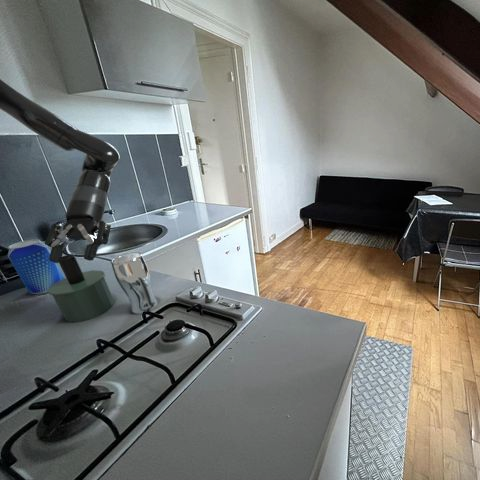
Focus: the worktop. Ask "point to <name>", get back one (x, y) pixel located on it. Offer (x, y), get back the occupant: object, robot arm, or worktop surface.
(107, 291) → the tin
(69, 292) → the tin lid
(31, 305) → the worktop surface
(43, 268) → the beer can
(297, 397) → the worktop surface
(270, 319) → the worktop surface
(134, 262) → the beer glass
